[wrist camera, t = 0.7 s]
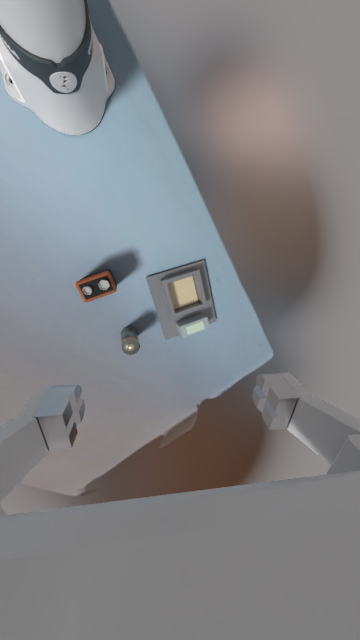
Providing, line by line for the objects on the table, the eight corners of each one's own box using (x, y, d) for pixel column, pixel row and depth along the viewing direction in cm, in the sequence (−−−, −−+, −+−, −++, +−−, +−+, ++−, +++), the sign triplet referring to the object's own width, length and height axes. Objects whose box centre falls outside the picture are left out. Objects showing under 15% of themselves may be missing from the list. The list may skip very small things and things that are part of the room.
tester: (146, 277, 51) (149, 279, 46) (202, 260, 54) (211, 260, 49) (165, 338, 58) (169, 345, 53) (214, 320, 61) (223, 325, 56)
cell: (118, 329, 53) (119, 343, 45) (133, 324, 54) (136, 336, 45) (124, 342, 54) (125, 358, 46) (138, 337, 55) (142, 352, 47)
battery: (117, 285, 50) (117, 292, 41) (90, 295, 49) (84, 304, 39) (109, 268, 48) (108, 271, 39) (81, 278, 47) (73, 283, 38)
